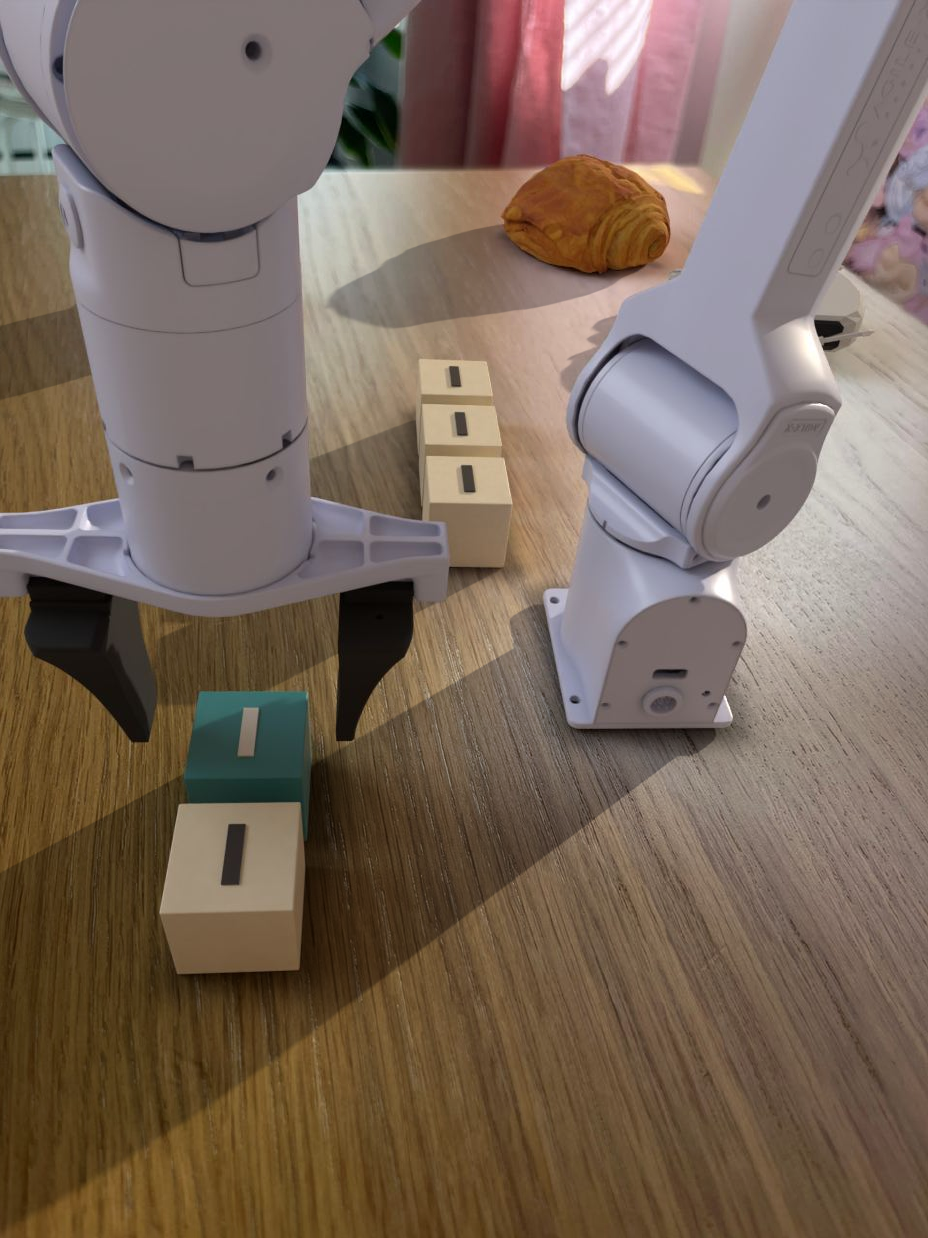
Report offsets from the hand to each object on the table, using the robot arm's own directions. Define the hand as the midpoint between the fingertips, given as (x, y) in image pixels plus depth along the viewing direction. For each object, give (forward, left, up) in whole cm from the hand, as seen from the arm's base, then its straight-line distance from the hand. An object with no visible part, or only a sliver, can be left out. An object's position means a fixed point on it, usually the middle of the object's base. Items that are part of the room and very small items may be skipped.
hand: (245, 722), depth 36 cm
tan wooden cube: (+23, -10, -5) cm, 26 cm away
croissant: (+62, -24, -5) cm, 67 cm away
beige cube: (+18, -10, -5) cm, 21 cm away
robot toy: (+45, -36, -5) cm, 58 cm away
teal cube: (0, 0, -5) cm, 5 cm away
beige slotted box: (-5, 0, -5) cm, 8 cm away
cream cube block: (+29, -10, -5) cm, 31 cm away
